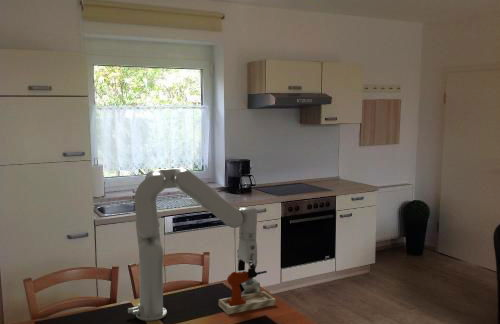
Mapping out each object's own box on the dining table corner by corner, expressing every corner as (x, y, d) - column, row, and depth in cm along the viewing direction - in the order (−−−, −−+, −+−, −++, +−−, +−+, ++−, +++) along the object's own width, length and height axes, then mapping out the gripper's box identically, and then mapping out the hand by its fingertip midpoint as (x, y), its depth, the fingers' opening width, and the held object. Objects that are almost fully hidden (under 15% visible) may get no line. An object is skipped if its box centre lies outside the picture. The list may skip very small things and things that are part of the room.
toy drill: (271, 299, 202) (267, 266, 200) (230, 308, 197) (226, 275, 195) (267, 295, 207) (264, 263, 205) (227, 304, 202) (223, 272, 200)
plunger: (245, 295, 212) (246, 276, 211) (241, 292, 216) (241, 273, 215) (255, 294, 214) (255, 275, 213) (250, 290, 218) (250, 271, 217)
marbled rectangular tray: (227, 314, 192) (228, 308, 192) (218, 305, 201) (218, 299, 201) (275, 304, 203) (275, 298, 202) (264, 296, 212) (264, 291, 211)
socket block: (244, 298, 210) (244, 285, 209) (237, 292, 217) (237, 280, 216) (259, 295, 213) (260, 283, 213) (251, 289, 220) (252, 277, 220)
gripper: (264, 239, 193) (263, 279, 194) (246, 230, 208) (245, 267, 210) (249, 241, 189) (247, 281, 191) (231, 231, 205) (230, 268, 206)
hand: (246, 273), depth 200 cm, fingers open, 9 cm apart
